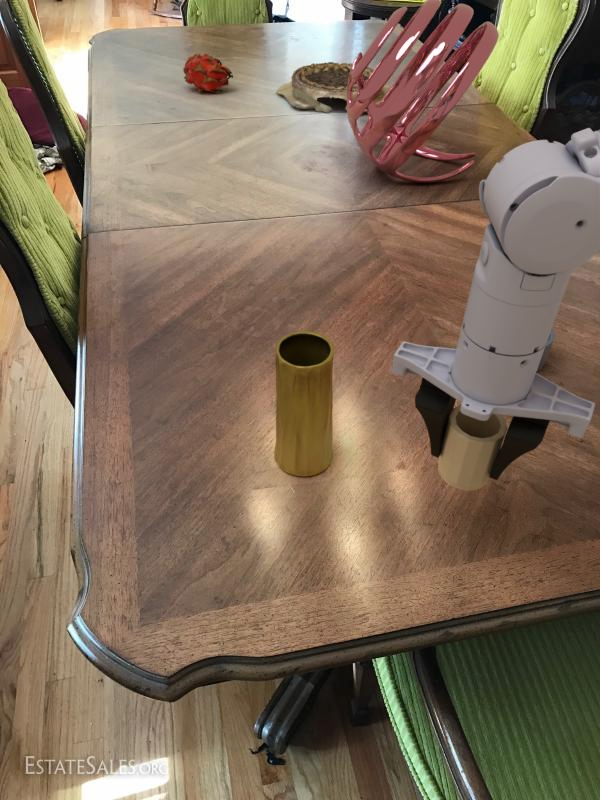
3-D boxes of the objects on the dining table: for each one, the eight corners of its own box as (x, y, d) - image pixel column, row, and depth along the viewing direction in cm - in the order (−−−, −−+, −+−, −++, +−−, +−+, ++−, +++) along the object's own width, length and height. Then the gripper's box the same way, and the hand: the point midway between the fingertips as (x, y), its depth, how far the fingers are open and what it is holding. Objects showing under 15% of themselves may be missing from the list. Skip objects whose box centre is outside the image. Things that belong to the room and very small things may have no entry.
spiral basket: (565, 46, 104) (445, -72, 97) (526, 144, 90) (385, 15, 84) (456, 150, 127) (354, 60, 121) (412, 239, 114) (295, 144, 108)
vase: (282, 483, 61) (279, 376, 51) (268, 439, 65) (263, 333, 56) (340, 470, 62) (349, 364, 52) (322, 428, 67) (327, 322, 57)
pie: (265, 82, 150) (264, 59, 147) (369, 72, 156) (371, 50, 153) (299, 122, 131) (299, 98, 127) (416, 110, 137) (419, 86, 133)
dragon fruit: (183, 94, 148) (231, 105, 148) (173, 81, 140) (223, 93, 139) (191, 57, 147) (239, 69, 146) (181, 41, 138) (232, 54, 138)
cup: (496, 462, 53) (513, 413, 49) (481, 499, 50) (497, 450, 46) (447, 443, 55) (460, 395, 50) (430, 478, 52) (441, 430, 48)
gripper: (383, 329, 42) (367, 459, 51) (606, 401, 37) (543, 529, 46) (420, 279, 46) (399, 407, 56) (623, 337, 41) (562, 466, 51)
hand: (466, 459), depth 51 cm, fingers closed on cup, 4 cm apart
